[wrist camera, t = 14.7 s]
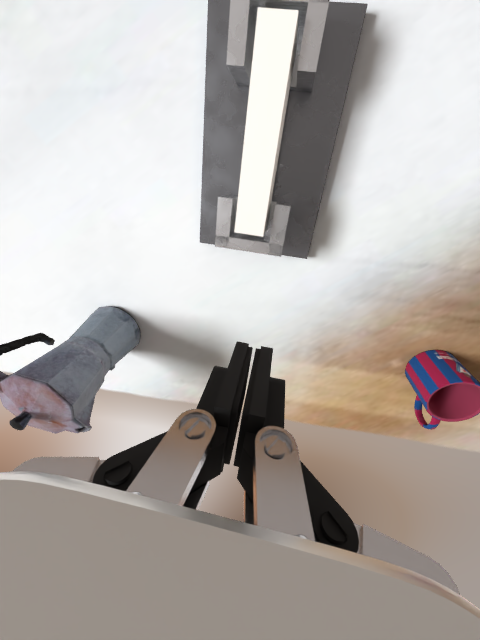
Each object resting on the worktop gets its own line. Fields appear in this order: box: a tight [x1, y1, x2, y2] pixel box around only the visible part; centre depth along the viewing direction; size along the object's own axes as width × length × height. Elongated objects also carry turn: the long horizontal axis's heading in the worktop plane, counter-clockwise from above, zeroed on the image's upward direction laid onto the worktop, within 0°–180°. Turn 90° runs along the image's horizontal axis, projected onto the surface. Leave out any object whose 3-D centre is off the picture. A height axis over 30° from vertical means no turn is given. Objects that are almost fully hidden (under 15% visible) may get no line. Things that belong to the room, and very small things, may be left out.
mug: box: [405, 350, 480, 429], centre depth 36 cm, size 7×10×7 cm
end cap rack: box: [200, 0, 367, 259], centre depth 26 cm, size 14×22×6 cm, turn 174°
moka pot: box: [0, 306, 140, 433], centre depth 36 cm, size 10×15×20 cm, turn 57°
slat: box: [234, 7, 299, 237], centre depth 25 cm, size 3×16×5 cm, turn 173°
